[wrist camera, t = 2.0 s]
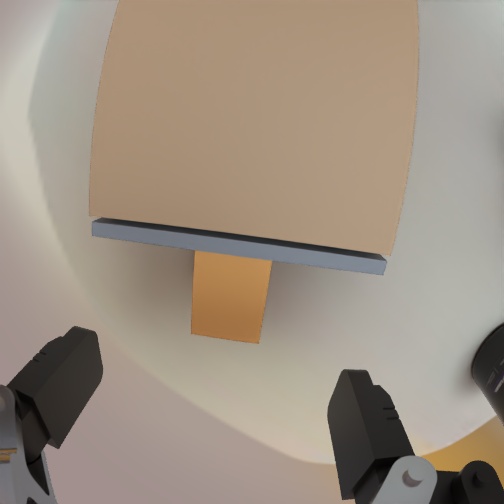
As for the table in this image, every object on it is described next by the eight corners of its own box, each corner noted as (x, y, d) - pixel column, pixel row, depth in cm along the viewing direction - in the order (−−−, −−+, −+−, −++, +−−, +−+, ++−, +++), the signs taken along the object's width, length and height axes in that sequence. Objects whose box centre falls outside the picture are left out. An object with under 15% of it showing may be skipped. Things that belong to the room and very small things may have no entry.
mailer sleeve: (184, -39, 12) (157, -91, 6) (374, -19, 11) (408, -66, 6) (143, 194, 17) (89, 216, 11) (351, 221, 16) (391, 255, 11)
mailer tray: (179, -32, 11) (153, -79, 6) (376, -11, 11) (408, -54, 6) (139, 274, 18) (98, 318, 13) (335, 301, 18) (356, 355, 13)
